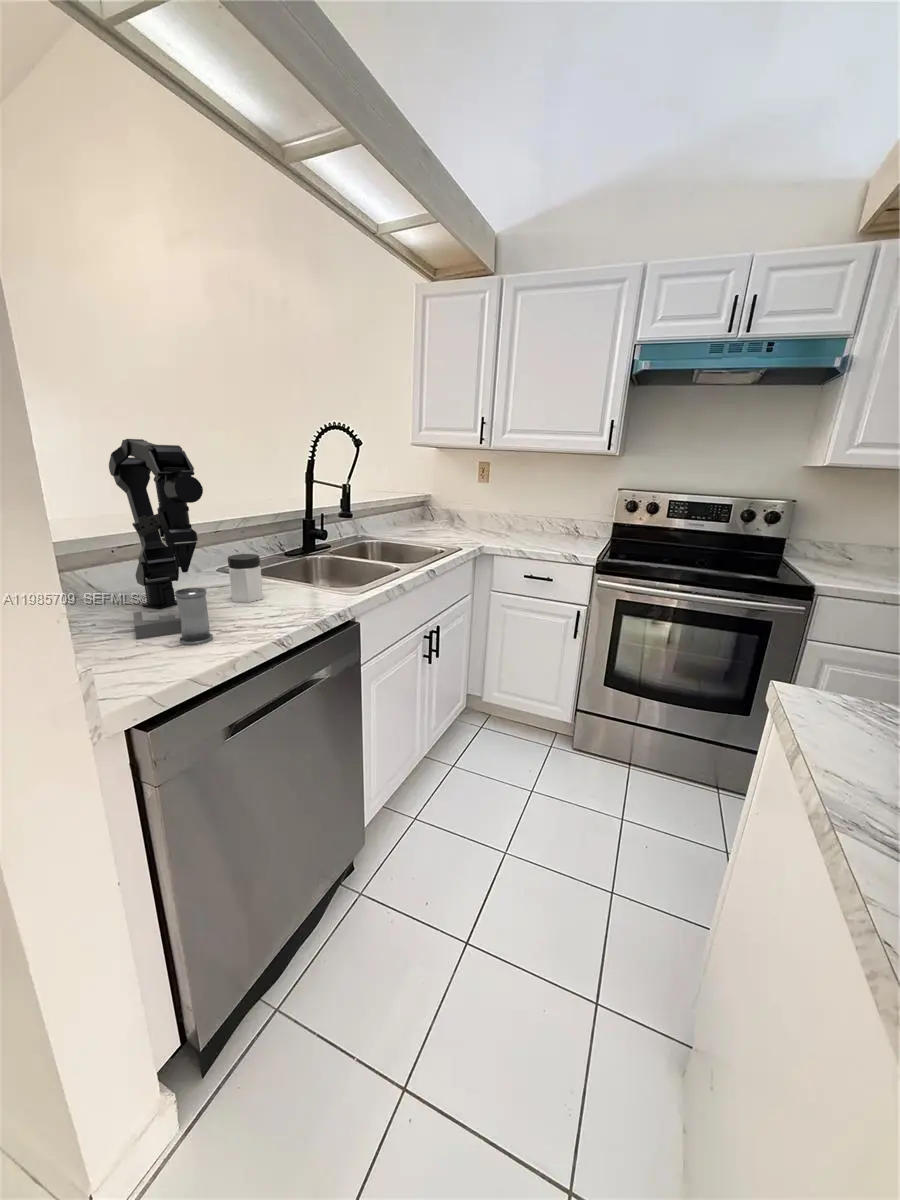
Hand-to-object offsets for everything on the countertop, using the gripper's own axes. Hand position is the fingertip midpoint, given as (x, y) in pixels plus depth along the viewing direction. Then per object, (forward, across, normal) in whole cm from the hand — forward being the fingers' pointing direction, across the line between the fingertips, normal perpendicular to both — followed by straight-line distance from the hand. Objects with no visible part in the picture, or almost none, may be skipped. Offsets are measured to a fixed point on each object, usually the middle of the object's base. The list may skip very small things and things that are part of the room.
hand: (182, 569), depth 117 cm
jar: (+12, -13, +16) cm, 24 cm away
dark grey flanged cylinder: (+13, +15, 0) cm, 20 cm away
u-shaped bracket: (+13, +2, -5) cm, 14 cm away
